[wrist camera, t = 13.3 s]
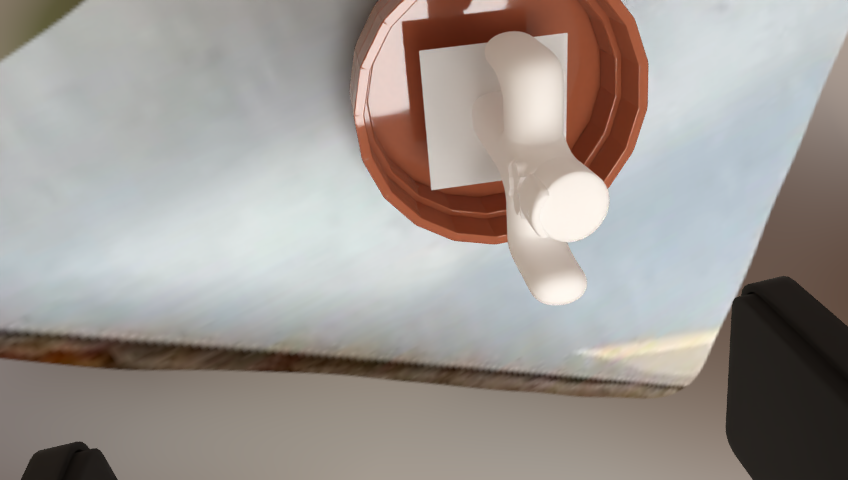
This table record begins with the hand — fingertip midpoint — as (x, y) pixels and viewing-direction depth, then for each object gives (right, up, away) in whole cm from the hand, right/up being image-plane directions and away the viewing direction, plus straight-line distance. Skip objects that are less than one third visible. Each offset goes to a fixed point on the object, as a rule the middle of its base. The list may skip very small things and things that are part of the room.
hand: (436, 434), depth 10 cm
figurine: (+3, +11, +28) cm, 30 cm away
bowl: (+3, +11, +28) cm, 30 cm away
